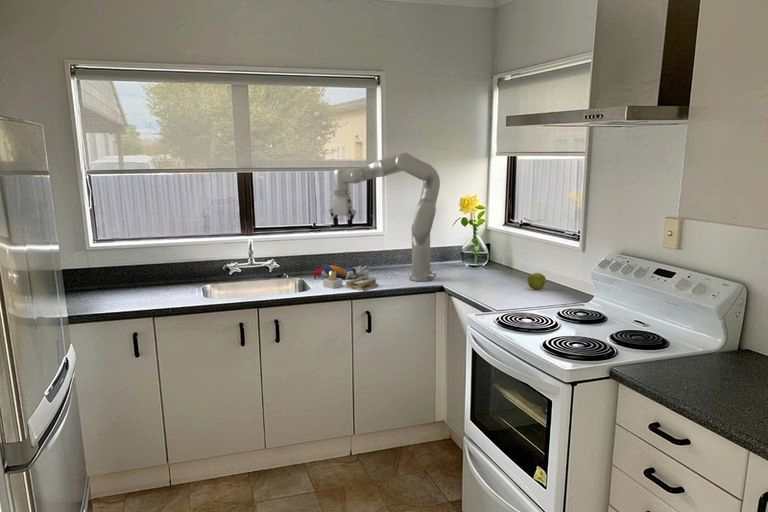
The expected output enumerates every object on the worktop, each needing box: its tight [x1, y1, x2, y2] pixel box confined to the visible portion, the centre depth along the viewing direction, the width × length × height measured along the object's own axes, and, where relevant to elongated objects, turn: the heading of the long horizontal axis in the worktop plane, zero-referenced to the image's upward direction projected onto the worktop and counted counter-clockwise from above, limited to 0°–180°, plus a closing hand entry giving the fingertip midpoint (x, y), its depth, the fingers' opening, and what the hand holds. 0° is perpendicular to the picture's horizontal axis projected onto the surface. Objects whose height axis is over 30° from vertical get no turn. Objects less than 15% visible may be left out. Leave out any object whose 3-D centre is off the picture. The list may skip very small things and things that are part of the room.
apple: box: [527, 272, 548, 291], centre depth 270 cm, size 8×9×8 cm
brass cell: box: [328, 270, 336, 281], centre depth 283 cm, size 4×4×8 cm
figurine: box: [313, 264, 370, 280], centre depth 300 cm, size 27×9×30 cm
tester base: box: [345, 277, 379, 291], centre depth 281 cm, size 10×12×3 cm
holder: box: [322, 277, 343, 289], centre depth 283 cm, size 7×7×4 cm
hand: (342, 226), depth 294 cm, fingers open, 9 cm apart
